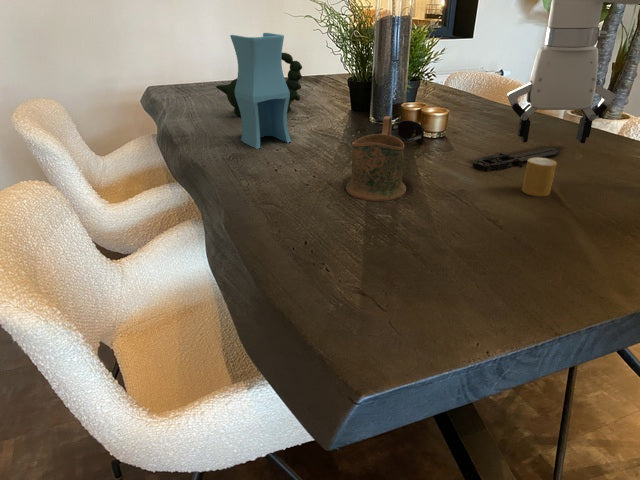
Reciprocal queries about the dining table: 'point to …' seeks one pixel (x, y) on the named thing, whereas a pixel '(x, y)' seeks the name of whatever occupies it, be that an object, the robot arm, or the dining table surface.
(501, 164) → the knife
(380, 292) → the dining table surface
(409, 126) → the sunglasses
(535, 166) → the candle holder
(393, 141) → the bronze bell
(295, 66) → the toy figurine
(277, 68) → the teal arched pillar
